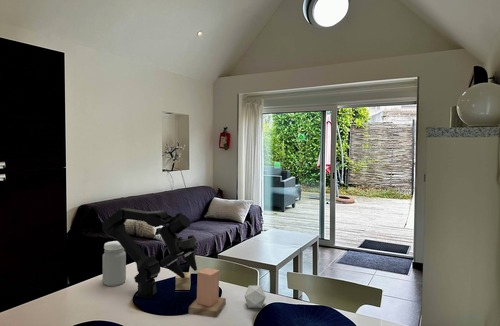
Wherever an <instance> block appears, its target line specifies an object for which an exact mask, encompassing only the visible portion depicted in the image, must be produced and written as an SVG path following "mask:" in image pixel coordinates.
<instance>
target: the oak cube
mask: <svg viewBox="0 0 500 326" xmlns="http://www.w3.org/2000/svg"><path fill="white" fill-rule="evenodd" d="M183 273H184V275H185V278H181V277H180V276H178V275H177V274H176V275H175V290H190V289H191V271H188V272H187V271H186V272H185V271H183Z"/></svg>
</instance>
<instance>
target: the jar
mask: <svg viewBox="0 0 500 326" xmlns="http://www.w3.org/2000/svg"><path fill="white" fill-rule="evenodd" d="M103 249H104V250H103V252H104V253H103V254H102V283H103V284H104V285H105V286H107V287H117V286H121V285H123V284H124V283H125V281H127V280H126V279H127V262H126V261H127V252H126V250H125V249H124V248H123V247H122V246H121V244H120V243H119V242H118V241H117V240H113V241H107V242H105V243H104V245H103Z"/></svg>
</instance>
